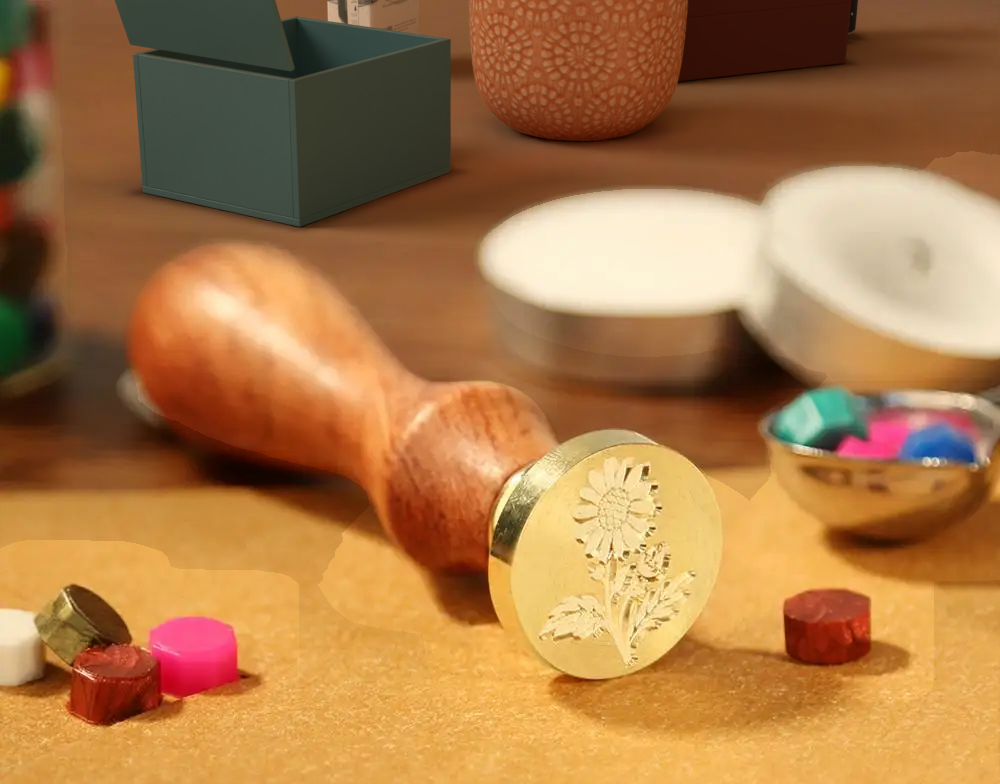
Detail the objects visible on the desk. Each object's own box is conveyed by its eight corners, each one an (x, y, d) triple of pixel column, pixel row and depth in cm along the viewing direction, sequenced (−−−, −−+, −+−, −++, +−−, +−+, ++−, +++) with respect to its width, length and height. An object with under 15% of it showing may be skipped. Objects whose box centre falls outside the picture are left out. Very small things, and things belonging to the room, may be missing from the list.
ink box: (376, 57, 168) (374, -77, 163) (422, 63, 166) (422, -72, 161) (326, 74, 161) (322, -65, 156) (373, 80, 159) (371, -60, 154)
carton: (299, 227, 119) (294, 80, 115) (142, 192, 126) (132, 53, 122) (450, 172, 132) (450, 38, 128) (300, 143, 139) (295, 16, 135)
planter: (674, 103, 152) (683, -87, 146) (691, 156, 137) (703, -55, 130) (469, 101, 152) (470, -90, 146) (463, 153, 137) (464, -58, 130)
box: (744, 31, 181) (751, -74, 177) (848, 63, 168) (858, -50, 164) (561, 49, 172) (563, -61, 168) (655, 84, 159) (660, -35, 155)
